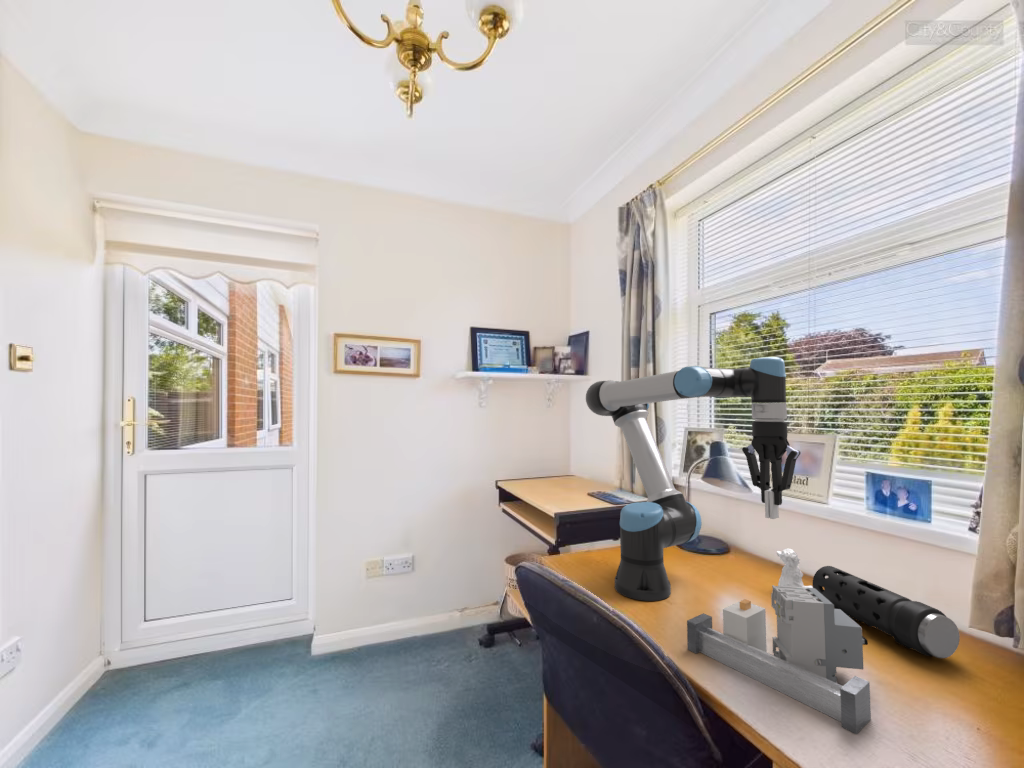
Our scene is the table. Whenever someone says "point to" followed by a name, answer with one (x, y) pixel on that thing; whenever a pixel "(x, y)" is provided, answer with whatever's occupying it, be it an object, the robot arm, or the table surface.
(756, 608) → the mounted module
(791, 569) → the white creature statuette
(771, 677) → the din rail
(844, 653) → the circuit breaker
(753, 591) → the table surface
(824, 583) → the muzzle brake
